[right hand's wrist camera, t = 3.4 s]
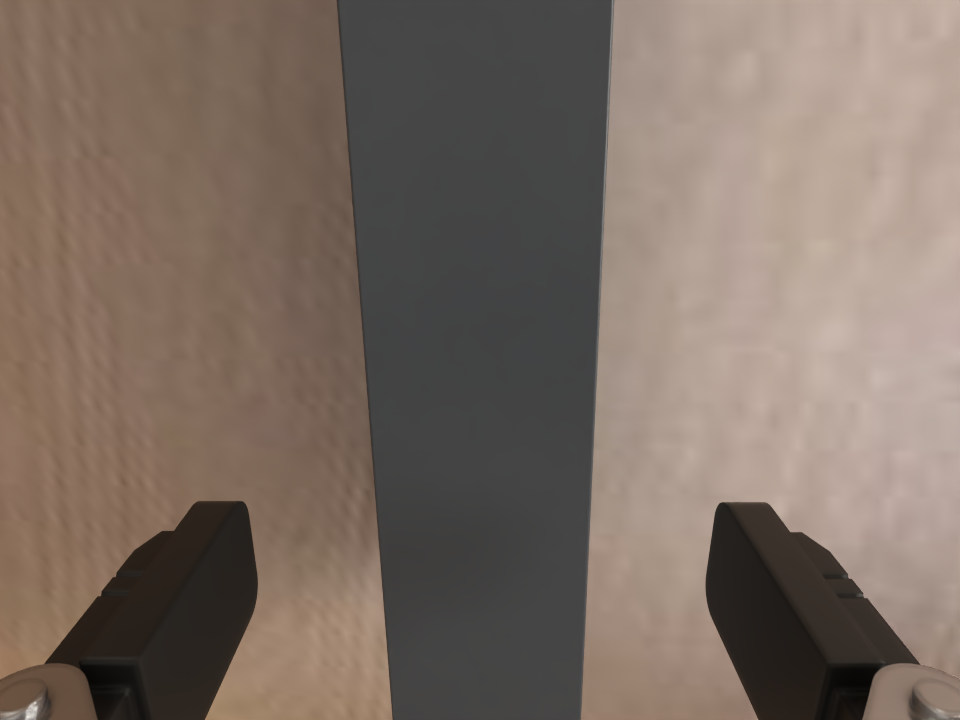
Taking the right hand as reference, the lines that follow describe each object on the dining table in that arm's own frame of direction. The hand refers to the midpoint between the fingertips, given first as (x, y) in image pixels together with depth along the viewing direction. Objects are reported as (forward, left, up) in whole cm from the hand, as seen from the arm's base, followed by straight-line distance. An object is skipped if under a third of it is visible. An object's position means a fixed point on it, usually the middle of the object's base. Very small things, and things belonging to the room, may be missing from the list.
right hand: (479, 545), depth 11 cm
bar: (+29, -13, -10) cm, 34 cm away
